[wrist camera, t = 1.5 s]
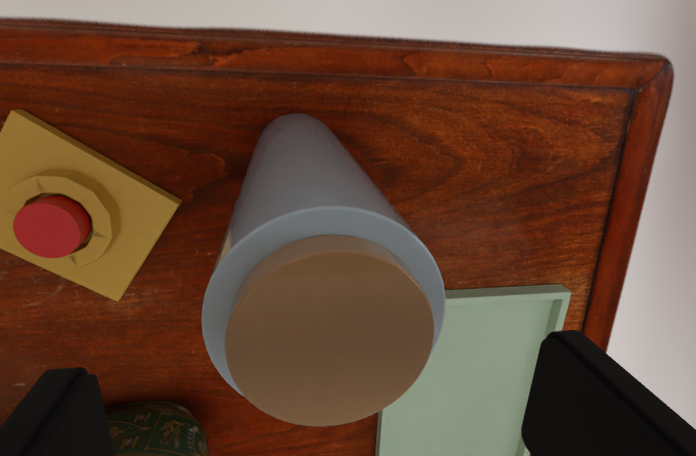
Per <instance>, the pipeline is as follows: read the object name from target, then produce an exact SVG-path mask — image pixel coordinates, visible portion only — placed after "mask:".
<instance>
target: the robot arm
mask: <svg viewBox="0 0 696 456" xmlns="http://www.w3.org/2000/svg"><path fill="white" fill-rule="evenodd" d="M521 435H522V440H523V442H524V444H525V446H526V448H527V449H528V451H529V452H530V454H531V455H532V456H696V430H695V429H694V428H693V427H692V426H691V425H689V424H688V423H687V422H686V421H685V420H684V419H682V418H681V417H680V416H679V415H678V414H677V413H675V412H674V411H673V410H672V409H670V407H668V406H667V405H666V404H665V403H664V402H662V401H661V400H660V399H659V398H658V397H656V396H655V395H654V394H653V393H652V392H651V391H649V390H648V389H647V388H646V387H645V386H644V385H643V384H641V383H640V382H639V381H638V380H637V379H635V378H634V377H633V376H632V375H631V374H630V373H628V372H627V371H626V370H625V369H624V368H623V367H621V366H620V365H619V364H618V363H617V362H616V361H614V360H613V359H612V358H611V357H609V356H608V355H607V354H606V353H605V352H604V351H603V350H601V349H600V348H599V347H598V346H597V345H596V344H594V343H593V342H592V341H591V340H590V339H589V338H587V337H586V336H585V335H584V334H583V333H581V332H580V331H577V330H567V331H554V332H550V333H549V334H548V335H547V337H546V339H544V340H543V341H542V342H541V344H540V349H539V353H538V357H537V362H536V366H535V370H534V375H533V379H532V383H531V388H530V392H529V396H528V401H527V405H526V409H525V414H524V418H523V422H522V427H521ZM0 456H115V452H114V448H113V443H112V439H111V435H110V431H109V426H108V422H107V418H106V413H105V409H104V405H103V400H102V396H101V392H100V388H99V383H98V379H97V377H96V376H95V375H94V374H89V375H88V372H87V370H86V369H85V368H82V367H77V368H64V369H51V370H48V371H46V372H45V373H44V374H43V375H42V376H41V377H40V378H39V380H38V381H37V382H36V383H35V385H34V386H33V387H32V388H31V390H30V391H29V392H28V393H27V395H26V396H25V397H24V399H23V400H22V401H21V402H20V404H19V405H18V406H17V407H16V409H15V410H14V411H13V412H12V414H11V415H10V416H9V417H8V419H7V420H6V421H5V423H4V424H3V425H2V426H1V428H0Z"/></svg>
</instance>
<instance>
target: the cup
mask: <svg viewBox="0 0 696 456" xmlns="http://www.w3.org/2000/svg"><path fill="white" fill-rule="evenodd" d="M104 409H105V413H106V418H107V422H108V426H109V431H110V435H111V439H112V443H113V448H114V452H115V456H209V452H208V451H209V450H208V440H207V439H206V435H205V432H204V430H203V428H202V426H201V424H200V423H199V422H198V421H197V420H196V419H195V418H194V417H193V416H192V414H191V412H190V411H189V410H188V409H187V408H185V407H184V406H182V405H180V404H177V403H173V402H169V401H140V402H133V403H127V404H121V405H117V406H112V407H108V408H104Z"/></svg>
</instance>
